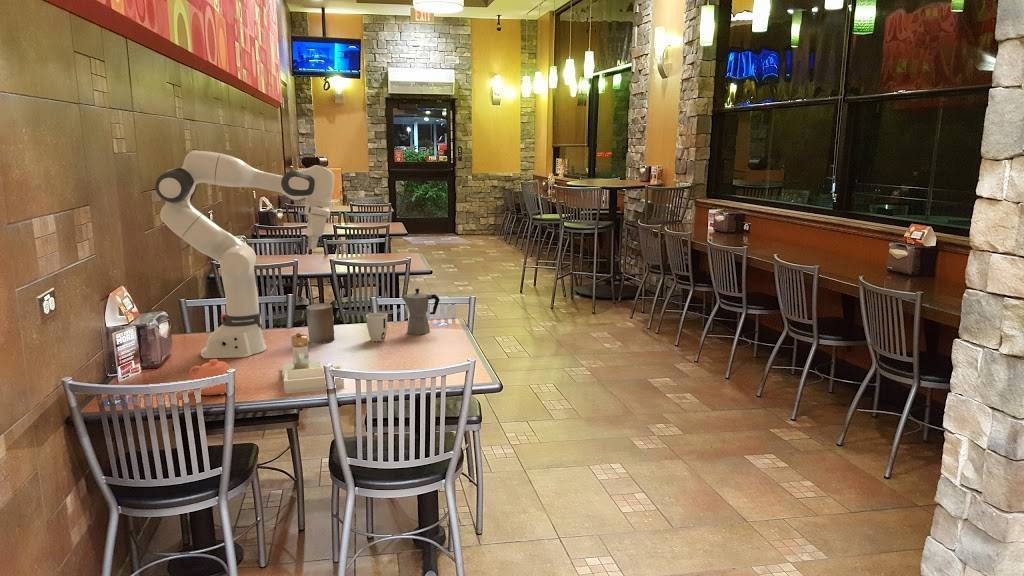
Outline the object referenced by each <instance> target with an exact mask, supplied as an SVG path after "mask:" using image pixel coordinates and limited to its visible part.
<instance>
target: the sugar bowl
mask: <svg viewBox="0 0 1024 576" xmlns="http://www.w3.org/2000/svg"><path fill="white" fill-rule="evenodd" d="M195 369H197V372H196V374H195V375H194V372H193V370H195ZM229 369H232V368H231V366H230V365H229V364H228V363H227V362H225V361H219V360H218V358H210V359H209V360H208V362H205V363H203V364H202V365H201V366H200V365H193V366H192V367H190V369H189V377H190V379H191V380H194V379H201V378H206V377H213V376H218V375H223V374H225V373H226V372H227V370H229ZM237 384H238V379H237V375H236V374H235V386H237ZM201 393H202V394H203V395H206V396H214V395H215V396H217V395H218V394H222V393H225V384H220V385H216V386H213V387H209V388H205V389H202V390H201ZM202 394H201V395H202ZM225 394H226V393H225ZM203 395H202V396H203Z"/></svg>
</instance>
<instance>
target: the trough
mask: <svg viewBox="0 0 1024 576" xmlns="http://www.w3.org/2000/svg"><path fill="white" fill-rule="evenodd" d="M323 367H324V366H322V367H321V366H320V368H309V369H297V370H286V371H285V375H284V380H283V385H284V394H295V393H297V394H298V393H306V392H313V391H314V392H316V391H325V390H326V384H325V377H324V371H323ZM333 368H335V369H342V370H343V365H334V366H333ZM344 380H345V379H341V378H335V385H336V388H337V389H345V381H344ZM337 389H336V390H337ZM326 391H327V390H326Z"/></svg>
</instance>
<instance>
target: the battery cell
mask: <svg viewBox="0 0 1024 576" xmlns="http://www.w3.org/2000/svg"><path fill="white" fill-rule="evenodd" d="M290 339H291V349H292V351H291V352H292V353H291V354H292V364H293V367H294V370H297V369H309V363H310V359H309V336H308V335H307V334H303V332H296V334H294V335H292V336H291V337H290Z"/></svg>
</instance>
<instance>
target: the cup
mask: <svg viewBox="0 0 1024 576" xmlns="http://www.w3.org/2000/svg"><path fill="white" fill-rule="evenodd" d="M365 319H366V327H367V331H368V336H369V338H370V341H371V342H373V341H376V342H375V343H378V342H377V341H381V342H384V341H385V340H386V335H387V331H388V330H387V329H388V313H386V312H372V313H368V314H366V315H365ZM383 340H384V341H383Z"/></svg>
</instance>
